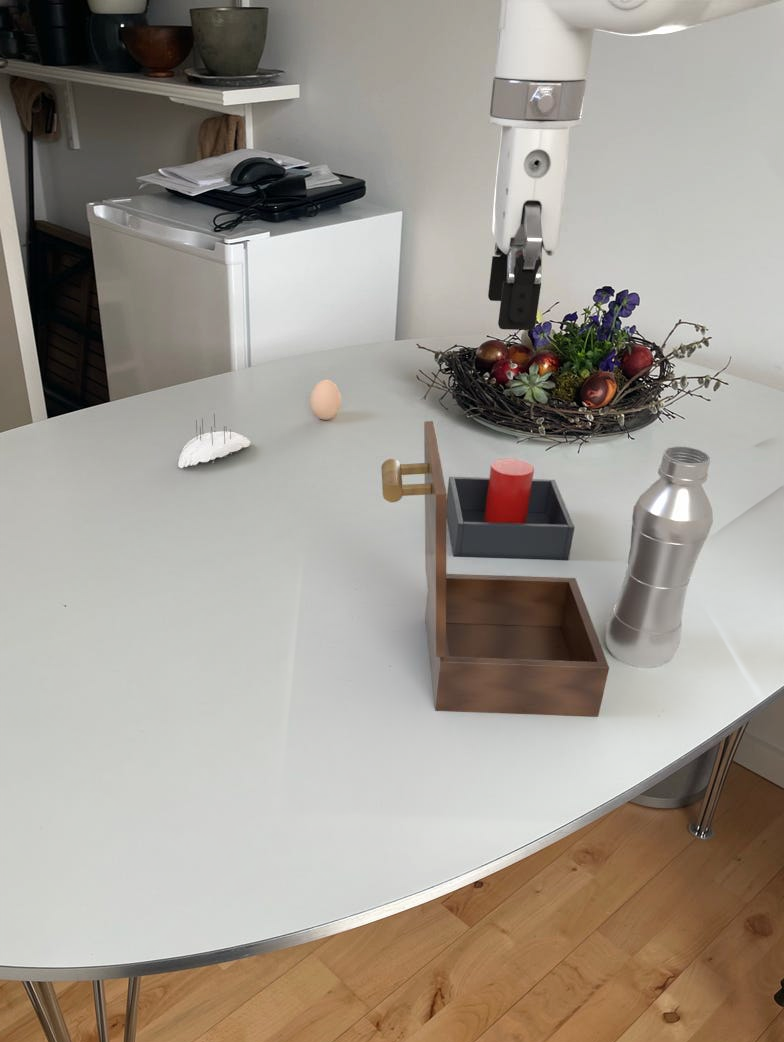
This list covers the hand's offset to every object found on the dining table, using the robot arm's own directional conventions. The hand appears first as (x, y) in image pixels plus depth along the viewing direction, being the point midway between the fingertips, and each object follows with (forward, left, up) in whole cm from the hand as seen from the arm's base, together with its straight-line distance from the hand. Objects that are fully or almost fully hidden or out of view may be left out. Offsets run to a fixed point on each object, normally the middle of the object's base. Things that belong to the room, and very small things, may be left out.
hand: (510, 313), depth 90 cm
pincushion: (+39, -14, -26) cm, 49 cm away
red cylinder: (-1, -7, -26) cm, 27 cm away
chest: (-7, +19, -26) cm, 33 cm away
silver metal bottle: (-18, +12, -26) cm, 34 cm away
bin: (-1, -7, -26) cm, 27 cm away
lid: (-1, +21, -13) cm, 25 cm away
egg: (+31, -33, -26) cm, 52 cm away
